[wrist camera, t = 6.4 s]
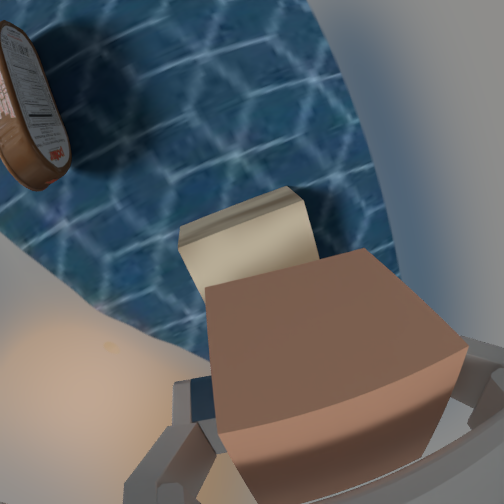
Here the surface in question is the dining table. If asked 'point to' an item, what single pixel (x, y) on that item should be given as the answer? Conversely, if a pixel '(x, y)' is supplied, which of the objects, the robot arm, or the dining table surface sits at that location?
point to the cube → (326, 375)
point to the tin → (29, 115)
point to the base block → (248, 239)
